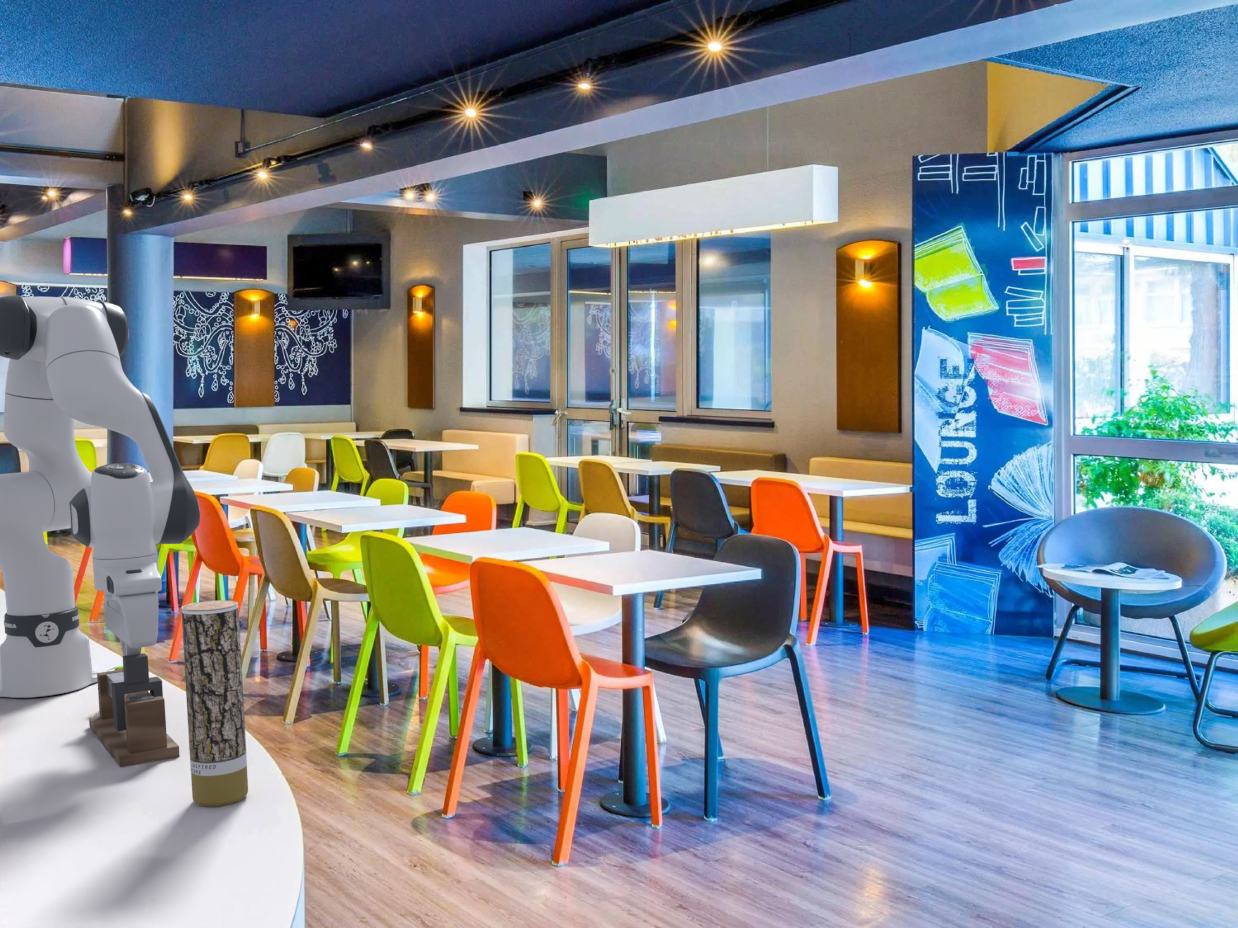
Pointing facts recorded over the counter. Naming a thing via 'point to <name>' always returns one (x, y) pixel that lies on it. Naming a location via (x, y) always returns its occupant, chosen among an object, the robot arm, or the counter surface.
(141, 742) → the base
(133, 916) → the counter surface
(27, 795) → the counter surface
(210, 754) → the paper tube
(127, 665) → the grey clamp
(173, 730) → the counter surface
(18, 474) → the robot arm
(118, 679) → the grey metal bar
